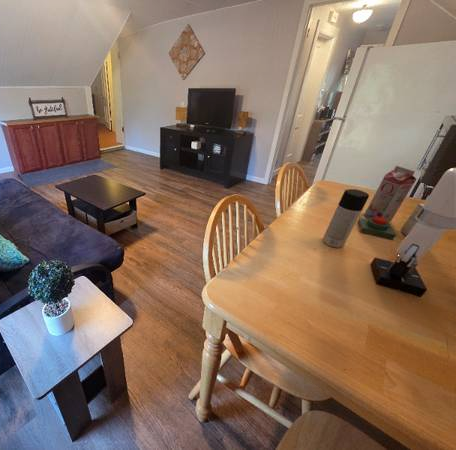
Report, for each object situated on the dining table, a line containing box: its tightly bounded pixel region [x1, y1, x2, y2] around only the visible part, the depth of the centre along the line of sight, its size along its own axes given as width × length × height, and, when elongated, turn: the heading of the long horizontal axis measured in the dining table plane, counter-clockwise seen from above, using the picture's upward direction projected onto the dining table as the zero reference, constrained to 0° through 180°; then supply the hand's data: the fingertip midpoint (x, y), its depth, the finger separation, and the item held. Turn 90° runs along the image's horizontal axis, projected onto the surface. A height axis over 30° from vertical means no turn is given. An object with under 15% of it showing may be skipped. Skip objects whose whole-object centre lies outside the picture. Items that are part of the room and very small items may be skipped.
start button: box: [373, 217, 387, 225], centre depth 94 cm, size 4×4×2 cm
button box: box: [357, 217, 397, 241], centre depth 95 cm, size 10×9×4 cm
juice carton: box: [363, 165, 417, 223], centre depth 99 cm, size 7×7×22 cm
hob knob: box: [389, 253, 420, 277], centre depth 70 cm, size 4×4×5 cm
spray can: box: [322, 188, 370, 248], centre depth 84 cm, size 7×7×20 cm
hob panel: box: [369, 257, 428, 298], centre depth 72 cm, size 10×10×3 cm
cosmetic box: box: [400, 203, 424, 237], centre depth 90 cm, size 6×4×12 cm
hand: (399, 270), depth 71 cm, fingers closed on hob knob, 4 cm apart
